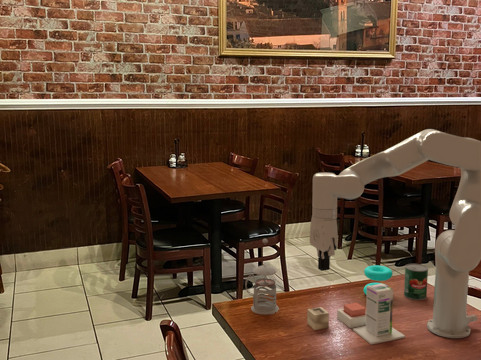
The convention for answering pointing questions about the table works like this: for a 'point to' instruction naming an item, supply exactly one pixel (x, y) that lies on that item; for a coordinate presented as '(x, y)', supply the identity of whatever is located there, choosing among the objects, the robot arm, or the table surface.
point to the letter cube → (318, 318)
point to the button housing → (351, 319)
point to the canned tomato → (416, 281)
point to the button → (354, 309)
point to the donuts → (377, 274)
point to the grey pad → (383, 338)
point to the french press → (262, 303)
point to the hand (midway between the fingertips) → (323, 269)
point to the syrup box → (379, 309)
